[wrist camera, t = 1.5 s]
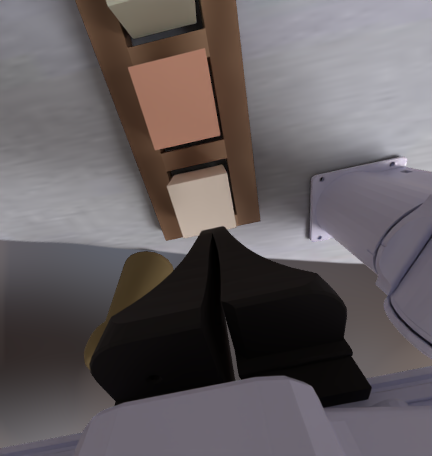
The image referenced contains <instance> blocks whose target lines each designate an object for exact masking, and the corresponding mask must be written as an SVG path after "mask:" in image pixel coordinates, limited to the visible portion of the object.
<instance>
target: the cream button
mask: <svg viewBox="0 0 432 456" xmlns="http://www.w3.org/2000/svg"><path fill="white" fill-rule="evenodd" d="M167 189H168V192H169V195H170V198H171V201H172V204H173V207H174V210H175V213H176V216H177V219H178V223H179V226H180V229H181V232H182V235H183V238H188V237H193V236H198V235H199V234H200V233H201V231H203V230H207V229H212V228H216V227H221V226H224V227H226V229H231V228H236V221H235V216H234V210H233V204H232V199H231V193H230V187H229V181H228V176H227V172H226V170H225V168H224V166H223V165H217V166H213V167H208V168H204V169H199V170H195V171H190V172H186V173H181V174H177V175H174V176H173V178H172V179H171V181H170V182H169V184H168V185H167Z"/></svg>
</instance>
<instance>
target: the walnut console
mask: <svg viewBox="0 0 432 456" xmlns="http://www.w3.org/2000/svg"><path fill="white" fill-rule="evenodd" d="M75 1H76V4H77V6H78V9H79V12H80V14H81V17H82V20H83V22H84V25H85V28H86V30H87V33H88V36H89V38H90V41H91V43H92V46H93V49H94V51H95V54H96V57H97V59H98V62H99V65H100V67H101V70H102V73H103V75H104V78H105V81H106V83H107V86H108V88H109V91H110V94H111V96H112V99H113V102H114V104H115V107H116V110H117V112H118V115H119V118H120V120H121V123H122V126H123V128H124V131H125V133H126V136H127V139H128V141H129V144H130V147H131V149H132V152H133V155H134V157H135V160H136V163H137V165H138V168H139V171H140V173H141V176H142V178H143V181H144V184H145V186H146V189H147V192H148V194H149V197H150V200H151V202H152V205H153V208H154V210H155V213H156V216H157V218H158V221H159V223H160V226H161V229H162V231H163V234H164V237H165V239H166V241H167V240H172V239H177V238H181V237H183V235H182V232H181V229H180V226H179V223H178V219H177V216H176V213H175V210H174V207H173V204H172V201H171V198H170V195H169V192H168V189H167V185H168V184H169V182H170V181H171V179H172V178H173V176H172V173H171V170H176V169H180V168H185V167H189V166H194V165H198V164H203V163H207V162H212V161H216V160H221V159H225V158H226V164H227V169H228V175H229V181H230V187H231V192H232V198H233V204H234V208H233V210H234V216H235V221H236V226H239V225H244V224H249V223H254V222H258V221H260V214H259V205H258V196H257V187H256V178H255V169H254V160H253V151H252V142H251V133H250V124H249V115H248V106H247V97H246V88H245V79H244V70H243V61H242V52H241V43H240V34H239V25H238V15H237V6H236V0H198V2H199V8H200V14H201V19H202V25H203V29H200V30H196V31H192V32H188V33H185V34H181V35H177V36H173V37H169V38H165V39H161V40H157V41H153V42H149V43H145V44H141V45H137V46H133V45H132V42H131V39H130V35H129V33H128V32H127V30H126V29H125V28H124V27H123V25H122V24H121V23H120V21H119V20H118V19H117V18H116V16H115V15H114V14H113V12H112V11H111V10H110V9H109V7H108V5H107V2H106V0H75ZM203 48H205V51H206V56H207V62H208V65H209V66H210V71H211V77H212V83H213V89H214V94H215V100H216V106H217V112H218V118H219V123H220V129H221V135H222V139H218V140H214V141H209V142H205V143H201V144H196V145H192V146H188V147H183V148H179V149H174V150H170V151H166V152H165V150H164V149H159V150H155V149H154V146H153V143H152V140H151V137H150V134H149V131H148V128H147V125H146V122H145V119H144V115H143V112H142V109H141V106H140V103H139V100H138V97H137V94H136V91H135V88H134V85H133V82H132V79H131V76H130V73H129V70H128V67H131V66H135V65H139V64H143V63H147V62H151V61H155V60H159V59H163V58H167V57H171V56H175V55H179V54H183V53H187V52H191V51H195V50H199V49H203Z"/></svg>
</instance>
